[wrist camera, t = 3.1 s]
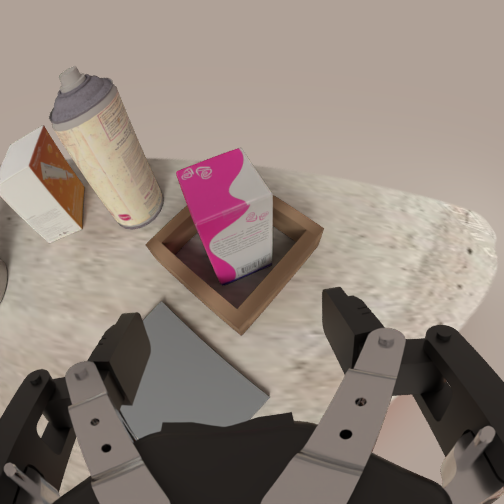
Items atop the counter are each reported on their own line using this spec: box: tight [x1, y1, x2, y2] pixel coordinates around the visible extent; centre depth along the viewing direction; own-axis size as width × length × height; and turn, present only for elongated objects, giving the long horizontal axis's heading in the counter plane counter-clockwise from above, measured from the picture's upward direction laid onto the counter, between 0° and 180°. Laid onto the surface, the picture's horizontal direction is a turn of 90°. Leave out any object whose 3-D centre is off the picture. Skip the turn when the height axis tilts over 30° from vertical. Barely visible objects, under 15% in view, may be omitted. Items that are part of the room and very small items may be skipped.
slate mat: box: [120, 301, 270, 439], centre depth 23 cm, size 14×12×1 cm
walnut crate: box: [146, 195, 324, 336], centre depth 28 cm, size 12×12×4 cm
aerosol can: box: [49, 66, 163, 229], centre depth 25 cm, size 7×7×20 cm
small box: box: [0, 125, 84, 243], centre depth 28 cm, size 8×6×13 cm
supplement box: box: [176, 148, 273, 286], centre depth 25 cm, size 6×6×12 cm
